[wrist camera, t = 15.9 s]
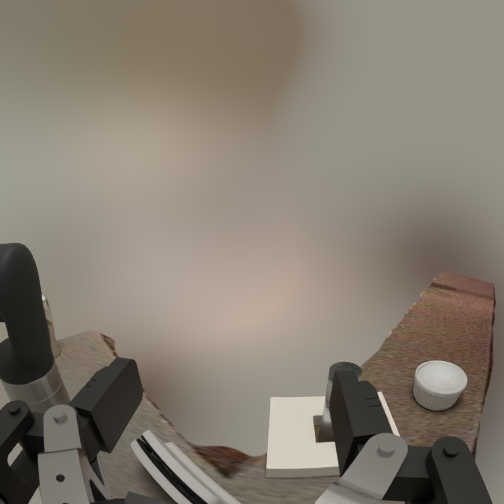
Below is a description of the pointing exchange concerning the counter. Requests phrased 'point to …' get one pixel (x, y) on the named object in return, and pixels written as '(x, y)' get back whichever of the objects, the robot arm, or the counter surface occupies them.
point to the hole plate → (302, 438)
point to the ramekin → (438, 384)
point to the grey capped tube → (326, 425)
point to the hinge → (178, 472)
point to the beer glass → (51, 327)
